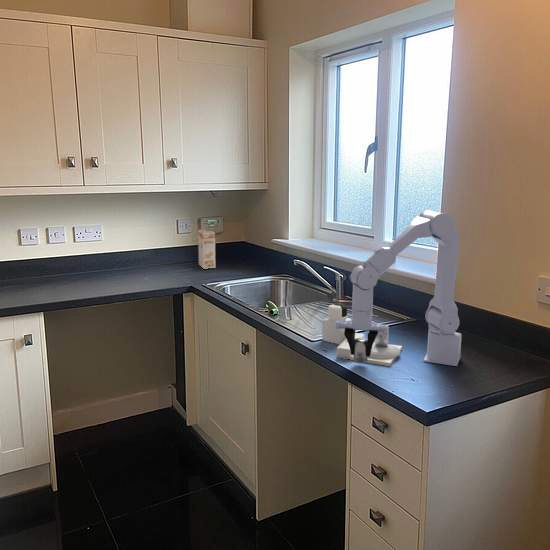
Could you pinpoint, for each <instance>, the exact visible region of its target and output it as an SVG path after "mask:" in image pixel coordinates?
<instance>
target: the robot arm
mask: <svg viewBox="0 0 550 550" xmlns="http://www.w3.org/2000/svg"><path fill="white" fill-rule="evenodd" d="M431 237H432V239H434V240H435V241H436V242H437V243H438V253H437V254H438V255H437V263H436V264H437V265H436V274H435V275H436V276H435V286H434V295H433V298H431V300H430V301H429V305H428V308H427V310H426V311H425V316H424V317H425V321H426V322H427V323H428V331H427V332H428V334H427V348H426V355H425V356H424V358H423V362H425V363H434V364H439V365H440V364H441V365H447V366H454V367H458V364H459V362H460V359H461V357H462V352H461V349H462V333H460V332H456V331H457V330H458V328H459V326H460V323H461V322H460V317H459V314H458V312H459V309H458V306H457V304H456V302H455V299H454V298H455V291H456V290H455V288H456V280H457V270H458V260H459V253H460V251H459V250H460V243H461V241H460V238H461V237H460V236H459V233H458V230H457V228H456V221H455V220H454V219H453V218H452V216H450V215H449V214H447V213H444V212H437V211H434V210H430V209H427V210H424V211H422V212H421V213H420V214H419V215H417V216H416V217H415V218H414V219H413V220H412V221H411V223H410V224H409V225H408V226H407V227H406V228H405V229H404V230H403V231H402V232H401V233H400V234H399V235H398V236H397V237H396V238H395V240H393V241H392V242H391V243H390V244H389V245H388V246H386V247H385V246H382V247H379V248H376V249H374V250H373V252H374V253H373V254H372V255H371V256H370V257H368V258H367V260H364V261H362V262H361V265H357V266H355V267H354V268H353V269H352V270H351V273H350V275H349V280H350V282H351V283H352V294H351V295H352V296H351V297H352V301H351V319H352V321H337V322H336V329H345V332H344V335H345V337H346V339H347V341H348V344H349V347H350V351H351V355H353V354H354V339H355V333H356V331H362V332H363V331H364V332H368V333H367V339H368V349H367V357H370V355H371V349H372V346H373V343H374V342H375V338H376V336H377V334H378V332H381V333H384V334H387V332H388V327H389V325H388V324H387V325H386V324H382V323H376V322H373V307H374V306H373V305H374V304H373V303H374V287H375V286H376V285H377V283H378V281H379V280H378V279H379V278H380V277H381V276H382V275H383V274H384V273H385V272H386V271H388V270H389V269H390V268H391V267H392V266H393V265H395V263H396V258H397V256H398V255H399V254H400V253H402V252H403V251H404V250H406V249H407V248H408V247H409V246H410V245H411V244H413V243H414V242H415V241H417V240H418V239H421V238H431Z"/></svg>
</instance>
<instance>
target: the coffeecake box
mask: <svg viewBox="0 0 550 550" xmlns="http://www.w3.org/2000/svg"><path fill="white" fill-rule="evenodd" d="M197 243H198V244H197V245H198V247H197V249H198V266H199V265H200V266H201V267H202V268H203V269H208V268H217V267H216V266H217V265H216V264H217V263H216V233H215V232H214V231H213V230H212V229H210V228H209V229H205V228H204V229H198V230H197ZM200 266H199V267H200ZM201 267H200V268H201ZM202 268H201V269H202ZM203 269H202V270H203Z"/></svg>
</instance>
